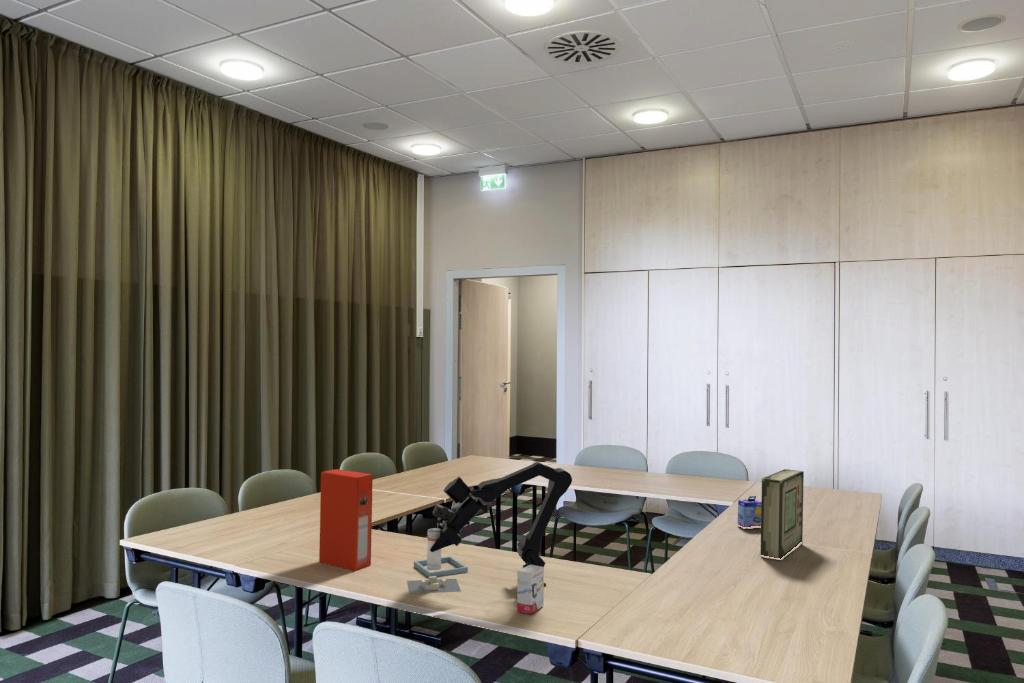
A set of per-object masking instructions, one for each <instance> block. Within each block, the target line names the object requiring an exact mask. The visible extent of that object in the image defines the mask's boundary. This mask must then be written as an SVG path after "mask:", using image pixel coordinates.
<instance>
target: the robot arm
mask: <svg viewBox="0 0 1024 683" xmlns="http://www.w3.org/2000/svg"><path fill="white" fill-rule="evenodd" d="M536 477H537V478H538V477H543V478H545V479H547V480H548V484H547V493H546V495H545V496H544V499H543V501H542V503H541V506H540V507H539V510H538V512H537V515H536V516H535V519H534V521H533V523H532V525H531V527H530V530H529V531H528V533H526V534H523V533H521V535H520V539H519V541H518V542H517V543H516V546H517V548H516V551H517V554H518V556H519V557H520V559H521V560H522V561H523V563H525V564H522V568H524V567H526V566H528V565H536V566H541V567H544V568H545V565H546V562H545V561H544V559H543V558H542V556H540V552H541V548H542V538H543V536H544V533H545V531H547V530H546V529H547V528H548V524H549V522H550V520H551V518H552V516H553V515H554V514H553V513H555V509H556V507H557V504H558V503H559V501H560V499H561V497H563V495H565V494H566V492H567V491H568V489H569V488H570V486H571V485H572V482H573V477H572V475H571V473H569V472H568V471H567V470H565V469H564V468H561V467H557V468H554V467H551V466H549V465H546V464H544V463H542V462H540V461H535V462H533V463H532V464H530V465H527V466H525V467H523V468H521V469H518V470H516V471H514V472H511V473H509V474H506V475H504V476H502V477H499V478H492V479H487V480H483V481H481V482H479V484H477V485H469V486H468V485H467V484H466V482H464V480H463V478H461V476H457V477H456V478H455V479H453V480H452V481H449V483H448V484H446V486H445V487H444V489H443V492H444V493H445V495H447V496H448V498H449V499H451V500H452V501H453V503H454V504H459V506H458V508H457V507H454V508H453V509H452V510H451V509H450V508H449V507H446V506H445V505H444V506H443V505H441V504H439V503H436V504H435V506H434V509H433V510H432V515H433V516H434V517H436V518H437V521H438V522H437V523H436V524H437V525H436V526H437V528H438V529H440V536H439V537H438V539H437V540H436V542H435V543H434V544H433V546H432V547H431V548H430V551H431V552H434V551H437V550H439V549H441V550H442V549H444V548H446V547H447V548H448V547H449V546H452V545H453V546H455V547H458V546H459V545H460V544H461V543H462V537H461V533H462V532H461V531H462V530H463V529H465V527H466V526H469V525H470V524H471V521H472V520H473V519H474V518H475V517H476V516H477V515H478V514H479V513H480V512H481V511H483V513H484V514H488V507H489V506H488V503H491V502H493V501H495V500H496V499H497V498H499V497H501V496H502V495H503V494H504V493H505V492H506V491H508V490H510V489H512V488H515V487H517V486H519V485H521V484H523V483H526V482H527V481H528V482H529V481H530V480H532V479H534V478H535V479H536ZM480 499H481V500H480ZM482 501H483V502H482ZM460 504H461V505H460ZM441 529H442V530H441ZM545 586H547V583H546V582H544V587H545Z"/></svg>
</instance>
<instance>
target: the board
mask: <svg viewBox="0 0 1024 683" xmlns="http://www.w3.org/2000/svg"><path fill="white" fill-rule="evenodd" d="M406 582H407V587H408V594H410V595H413V594H433V593H434V594H435V593H437V594H438V593H453V592H462V590H461V587H460V585H459V582H458V580H457V578H441V579H438V578H437V577H436V576H431V577H428V579H424V578H423V579H418V580H417V579H416V580H406Z"/></svg>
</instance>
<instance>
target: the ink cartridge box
mask: <svg viewBox="0 0 1024 683" xmlns="http://www.w3.org/2000/svg"><path fill="white" fill-rule="evenodd" d="M761 502H762V500H758V499H757V496H756V495H753V496H752V495H750V496H749V497H748V499H738V500H737V524H738V525H740V526H742V527H751V526H761Z"/></svg>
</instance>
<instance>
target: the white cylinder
mask: <svg viewBox="0 0 1024 683" xmlns="http://www.w3.org/2000/svg"><path fill="white" fill-rule="evenodd" d="M441 530H442V529H441ZM439 536H440V529H438V527H437V528H436V527H435V528H434V527H433V528H428V529H427V551H426V552H427V553H426V560H427V566H426V569H428V570H429V571H440V570H442V564H441V558H442V549H439V550H437V551H434V552H431V551H430V548H431V547H432V546H433V544H434V543H435V542H436V540H437V539H438V537H439Z"/></svg>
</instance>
